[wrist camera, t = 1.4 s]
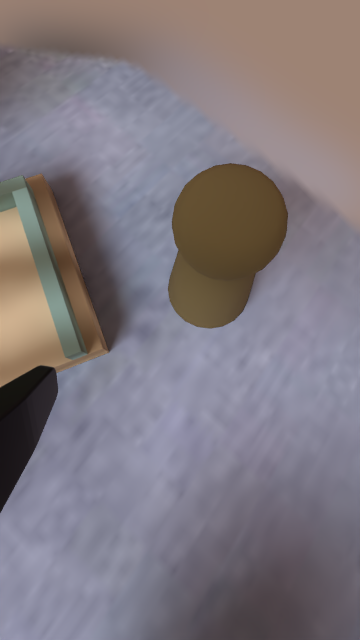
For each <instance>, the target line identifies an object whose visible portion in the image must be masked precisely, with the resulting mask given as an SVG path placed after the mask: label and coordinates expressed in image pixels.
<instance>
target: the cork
mask: <svg viewBox="0 0 360 640" xmlns="http://www.w3.org/2000/svg"><path fill="white" fill-rule="evenodd" d="M287 219H288V213H287V209H286V206H285V202H284V198H283V196H282V194H281V193H280V191H279V190H278V188H277V187H276V185H275V184H274V182H273V181H272V180H271V179H269V178H268V177H267V176H266V175H264V174H263V173H262V172H261V171H258V170H256V169H254V168H251V167H249V166H246V165H239V164H231V163H230V164H223V165H216V166H213V167H211V168H209V169H207V170H205V171H202V172H201V173H199V174H197V175H196V176H195V177H194V178H193V179H192V180H191V181H189V182H188V183H187V184H186V185H185V186H184V188H183V190H182V192H181V194H180V195H179V197H178V199H177V201H176V204H175V206H174V212H173V218H172V229H173V234H174V240H175V244H176V246H177V248H178V249H179V251H178V254H177V257H176V260H175V263H174V266H173V269H172V272H171V275H170V280H169V286H168V292H169V298H170V302H171V304H172V306H173V308H174V309H175V311H176V313H177V314H178V315H179V316H180V317H182V318H183V319H184V320H185V321H186V322H188V323H190V324H193V325H195V326H197V327H203V328H216V327H222V326H224V325H226V324H228V323H230V322H232V321H234V320H235V319H236V318H237V317H238V316H239V315H240V314H241V313H242V311H243V309H244V307H245V305H246V303H247V301H248V297H249V294H250V291H251V287H252V284H253V281H254V277H255V274H256V272H258V271H260V270H262V269H264V267H265V266H266V265H267V264H268V263H269V262H270V261H271V260H272V259H273V258H274V257H275V256H276V255H277V253H278V252H279V250H280V248H281V245H282V243H283V241H284V239H285V236H286V231H287Z"/></svg>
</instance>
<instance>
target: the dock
mask: <svg viewBox="0 0 360 640" xmlns="http://www.w3.org/2000/svg"><path fill="white" fill-rule="evenodd" d="M106 353H109V351H108V348H107V345H106V342H105V339H104V336H103V334H102V331H101V328H100V325H99V322H98V319H97V317H96V314H95V311H94V308H93V305H92V302H91V300H90V297H89V294H88V291H87V288H86V285H85V282H84V280H83V277H82V274H81V271H80V268H79V265H78V263H77V260H76V257H75V254H74V251H73V248H72V246H71V243H70V240H69V237H68V234H67V231H66V229H65V226H64V223H63V220H62V217H61V214H60V212H59V209H58V206H57V203H56V200H55V197H54V194H53V192H52V190H51V188H50V186H49V185H48V183H47V181H46V180H45V178H44V176H43V175H42V174H39V175H36V176H33V177H30V178H26V179H25V178H24V177H23V175H21V176H18V177H15V178H12V179H9V180H6V181H3V182H0V387H1V386H3V385H5V384H7V383H8V382H10V381H12V380H14V379H15V378H17V377H19V376H21V375H23V374H24V373H26V372H28V371H30V370H31V369H33V368H35V367H37V366H39V365H44V366H50V367H54V368H55V370H56V373H58V372H60V371H63V370H65V369H68V368H71V367H73V366H76V365H78V364H81V363H83V362H86V361H88V360H91V359H94V358H96V357H99V356H101V355H104V354H106Z"/></svg>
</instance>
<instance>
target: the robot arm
mask: <svg viewBox="0 0 360 640" xmlns="http://www.w3.org/2000/svg"><path fill="white" fill-rule="evenodd" d="M57 394H58V383H57V375H56V370H55V368H54V367H50V366H44V365H39V366H37V367H35V368H33V369H31V370H30V371H28V372H26V373H24V374H23V375H21V376H19V377H17V378H15V379H14V380H12V381H10V382H8V383H7V384H5V385H3V386H1V387H0V513H1V511H2V509H3V507H4V505H5V504H6V502H7V500H8V498H9V496H10V494H11V493H12V491H13V489H14V487H15V485H16V483H17V482H18V480H19V478H20V476H21V474H22V472H23V471H24V469H25V467H26V465H27V463H28V461H29V459H30V458H31V456H32V454H33V452H34V450H35V448H36V446H37V443H38V441H39V439H40V436H41V434H42V432H43V429H44V427H45V424H46V422H47V419H48V417H49V415H50V412H51V410H52V407H53V405H54V402H55V400H56V397H57Z"/></svg>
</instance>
